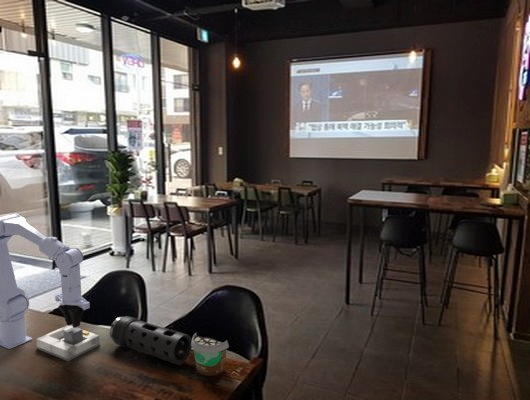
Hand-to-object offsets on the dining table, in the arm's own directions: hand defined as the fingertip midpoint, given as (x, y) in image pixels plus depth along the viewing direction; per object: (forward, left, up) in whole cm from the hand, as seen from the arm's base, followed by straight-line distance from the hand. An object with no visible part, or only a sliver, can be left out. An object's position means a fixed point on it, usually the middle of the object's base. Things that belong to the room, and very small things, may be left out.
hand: (73, 325), depth 136 cm
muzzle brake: (+24, +10, -9) cm, 27 cm away
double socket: (-3, 0, -8) cm, 9 cm away
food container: (+46, +11, -9) cm, 48 cm away
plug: (0, 0, -8) cm, 8 cm away
